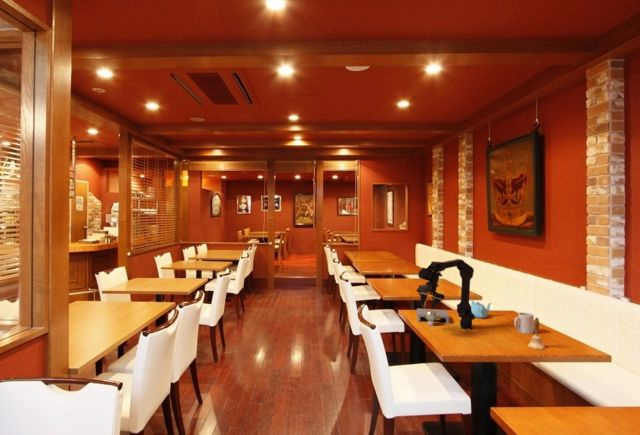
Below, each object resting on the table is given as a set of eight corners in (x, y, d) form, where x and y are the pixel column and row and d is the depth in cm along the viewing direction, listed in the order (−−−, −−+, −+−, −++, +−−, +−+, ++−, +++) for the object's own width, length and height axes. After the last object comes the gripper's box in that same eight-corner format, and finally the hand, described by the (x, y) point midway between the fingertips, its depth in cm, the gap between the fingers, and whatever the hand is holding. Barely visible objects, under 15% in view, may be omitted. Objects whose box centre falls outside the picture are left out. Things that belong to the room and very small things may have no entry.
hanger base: (446, 317, 266) (446, 310, 266) (448, 323, 251) (448, 316, 251) (416, 315, 271) (416, 308, 271) (417, 321, 255) (417, 314, 255)
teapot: (482, 320, 259) (483, 305, 259) (462, 316, 270) (462, 301, 270) (491, 316, 269) (492, 302, 269) (471, 312, 280) (471, 298, 280)
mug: (526, 329, 239) (526, 312, 239) (536, 333, 231) (537, 315, 231) (509, 330, 237) (510, 313, 237) (519, 334, 228) (519, 316, 228)
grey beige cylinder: (435, 323, 250) (435, 310, 250) (436, 326, 244) (436, 312, 244) (425, 323, 251) (425, 309, 251) (425, 326, 245) (426, 312, 245)
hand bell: (524, 344, 211) (524, 315, 211) (538, 344, 212) (539, 315, 212) (534, 349, 203) (534, 320, 203) (548, 349, 204) (549, 319, 204)
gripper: (413, 276, 235) (407, 301, 233) (433, 282, 218) (427, 308, 216) (426, 280, 239) (420, 304, 238) (447, 285, 222) (441, 312, 221)
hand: (427, 307), depth 228 cm, fingers open, 9 cm apart
